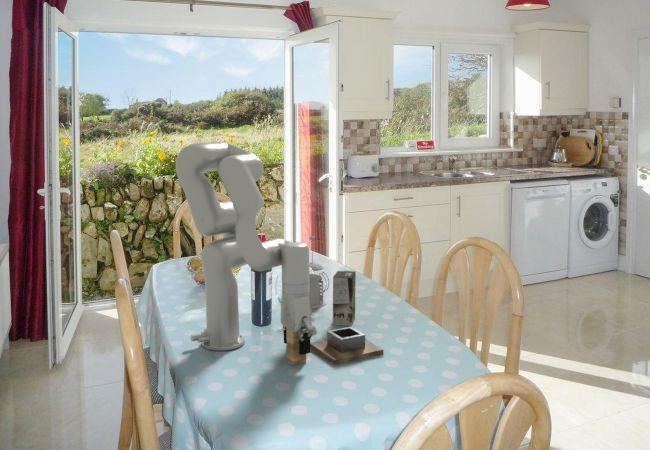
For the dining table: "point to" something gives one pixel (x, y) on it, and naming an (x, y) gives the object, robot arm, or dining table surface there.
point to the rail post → (294, 348)
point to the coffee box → (344, 298)
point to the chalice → (313, 294)
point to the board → (345, 357)
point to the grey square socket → (346, 339)
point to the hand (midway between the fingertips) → (296, 347)
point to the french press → (316, 267)
